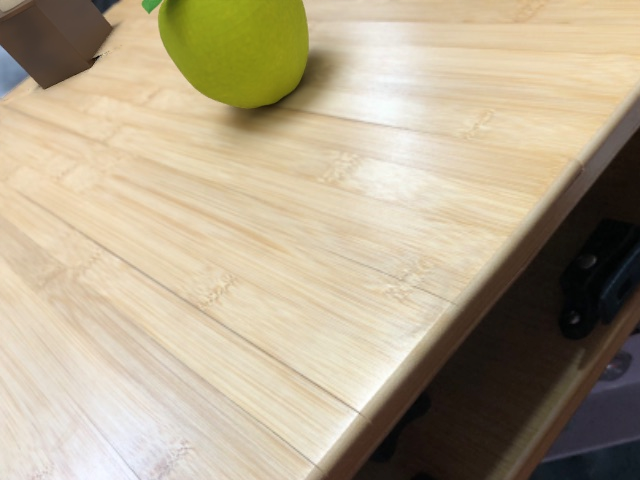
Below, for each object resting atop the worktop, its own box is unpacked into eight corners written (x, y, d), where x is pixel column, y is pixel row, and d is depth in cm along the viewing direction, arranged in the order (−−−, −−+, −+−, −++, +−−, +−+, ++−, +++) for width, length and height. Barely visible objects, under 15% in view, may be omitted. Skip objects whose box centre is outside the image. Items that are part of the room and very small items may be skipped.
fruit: (203, 146, 44) (97, 18, 38) (256, 65, 49) (171, -61, 42) (306, 125, 40) (206, -25, 33) (353, 38, 45) (275, -109, 38)
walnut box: (41, 91, 72) (-20, 28, 67) (70, 53, 77) (15, -8, 72) (91, 67, 69) (32, 0, 64) (118, 30, 74) (65, -36, 69)
